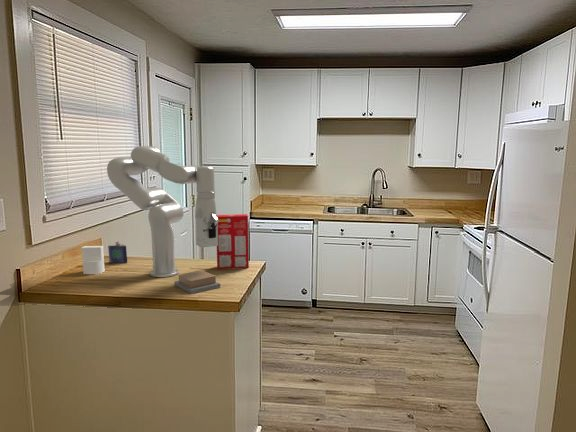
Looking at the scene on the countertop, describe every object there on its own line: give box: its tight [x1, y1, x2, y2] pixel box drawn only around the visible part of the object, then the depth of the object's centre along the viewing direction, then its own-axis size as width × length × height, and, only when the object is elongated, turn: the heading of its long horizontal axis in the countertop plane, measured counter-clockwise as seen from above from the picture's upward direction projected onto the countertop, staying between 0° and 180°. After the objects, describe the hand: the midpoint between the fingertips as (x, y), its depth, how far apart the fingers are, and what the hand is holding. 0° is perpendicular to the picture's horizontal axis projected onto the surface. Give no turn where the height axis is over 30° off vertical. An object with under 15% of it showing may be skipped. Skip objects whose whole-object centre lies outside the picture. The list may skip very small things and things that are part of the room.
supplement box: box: [195, 217, 218, 249], centre depth 188 cm, size 7×7×13 cm
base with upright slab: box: [81, 245, 105, 275], centre depth 201 cm, size 9×9×12 cm
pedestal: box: [174, 269, 221, 295], centre depth 181 cm, size 15×13×4 cm
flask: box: [107, 241, 128, 265], centre depth 218 cm, size 9×3×11 cm, turn 84°
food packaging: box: [216, 214, 250, 270], centre depth 208 cm, size 15×5×25 cm, turn 99°
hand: (206, 236), depth 189 cm, fingers closed on supplement box, 8 cm apart
